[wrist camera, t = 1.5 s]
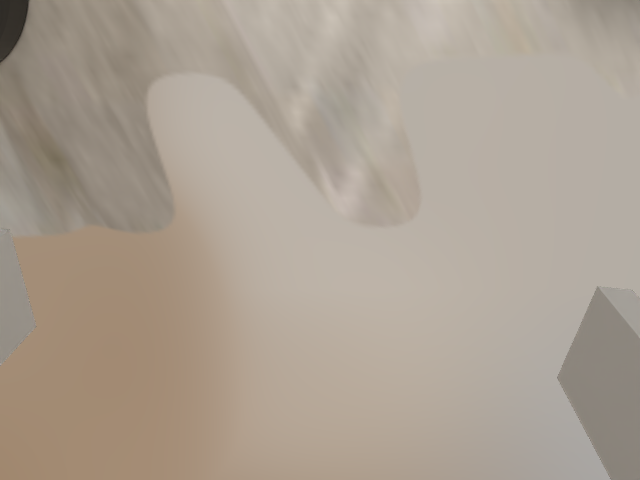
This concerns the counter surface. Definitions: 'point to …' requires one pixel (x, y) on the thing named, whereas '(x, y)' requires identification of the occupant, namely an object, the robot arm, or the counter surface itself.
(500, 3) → the counter surface
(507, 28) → the counter surface
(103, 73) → the counter surface
